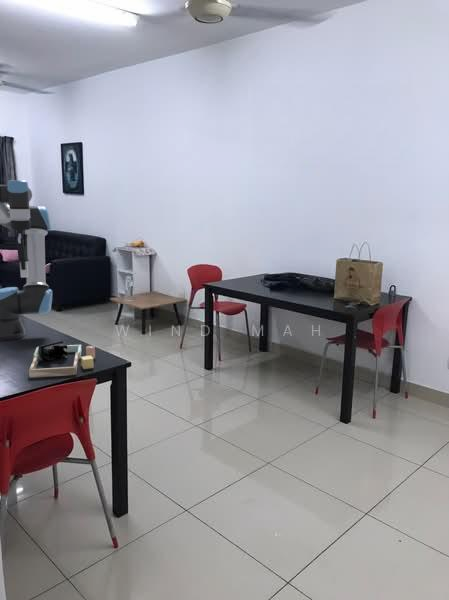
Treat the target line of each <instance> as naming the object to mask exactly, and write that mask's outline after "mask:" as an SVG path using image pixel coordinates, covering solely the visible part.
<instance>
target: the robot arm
mask: <svg viewBox="0 0 449 600" xmlns="http://www.w3.org/2000/svg"><path fill="white" fill-rule="evenodd" d="M32 197H33V191H32V189H31V188H30V187H29V183H28V181H27V180H21V179H19V180H18V179H17V180H16V179H10V180H8V181H7V184H0V225H1V226H3V227H4V228H8V229H10V230H14V231H16V234H15V241H16V242H15V243H16V248H17V249H16V250H17V258H18V260H17V263H19V271H20V273H19V274H20V278H21V279H22V278H26V283H25V284H24V285H23V288H22V290H19V287H17V286H12V287H11V286H10V287H9V286H8V287H4V288H3V287H2V288H0V341H4V342H5V341H14V340H18V339H21V338H23V337H25V336H26V329H25V326H24V325H23V322H22V320H21V315H42V314H48V313H50V312H51V310H52V303H53V290H52V289H51V288H50V286H49V285H48V284H47V282H46V280H47V279H46V278H47V277H46V243H45V242H46V241H45V239H46V238H45V236H47V235H48V234H49V233H48V231H50V230H51V229H52V227H51V222H50V221H51V220H50V216H49V215H50V214H49V210H48V208H47V207H46V206H41V205H39V206H38V205H30V202H31V200H32Z"/></svg>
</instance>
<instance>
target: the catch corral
mask: <svg viewBox="0 0 449 600" xmlns="http://www.w3.org/2000/svg"><path fill="white" fill-rule="evenodd" d="M66 345H67V344H66ZM67 347H68V348H67V349H66V348H64V350H65V351H67V352H68V353H78V358H79V360H81V357H82V351H83V350H82V344H69V345H67ZM38 348H39V346H37V347H35V351H34V353H33V358H34V357H35V355H38V358H40V357H39V353H38Z"/></svg>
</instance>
